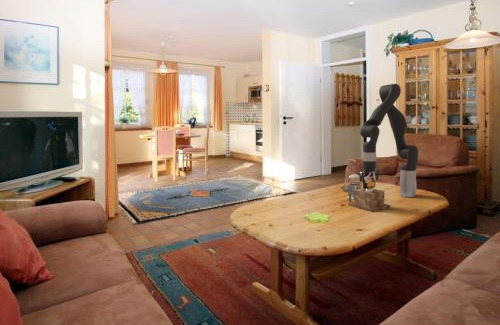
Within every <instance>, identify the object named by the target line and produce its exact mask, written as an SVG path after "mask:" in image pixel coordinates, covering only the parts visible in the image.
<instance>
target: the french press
mask: <svg viewBox="0 0 500 325" xmlns="http://www.w3.org/2000/svg"><path fill="white" fill-rule="evenodd" d="M353 162H354V163H356V162H357V160H356V159H353ZM350 179H360V176H359V174H357V173H354V174H350V175H349V176H348V178H346V179H345V180H344V183H343V185H345V186H347V185H346V182H347V180H348V181H349V182H348V185H350V186H352V187H353V188H355V187H356V186H358V189H357V190H359V189H362V185H361V182H360V181H350ZM345 189H347V188H345ZM352 191H354V190H352ZM346 198H347V199H349V195H348V194H347V197H346ZM351 200H354V192H352V195H351Z"/></svg>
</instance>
